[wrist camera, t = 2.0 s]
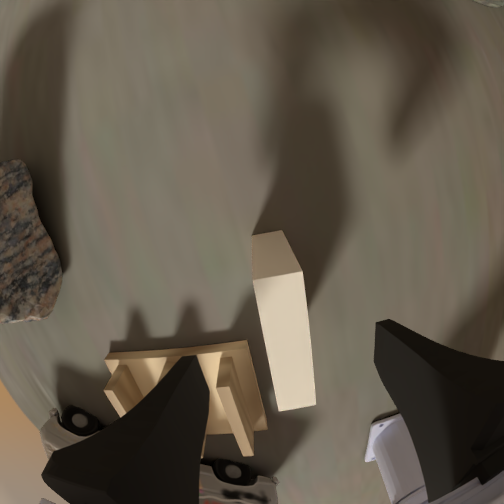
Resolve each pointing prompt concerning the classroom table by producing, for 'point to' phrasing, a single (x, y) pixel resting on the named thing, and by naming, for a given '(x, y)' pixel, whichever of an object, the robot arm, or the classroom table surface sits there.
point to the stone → (24, 251)
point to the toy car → (211, 481)
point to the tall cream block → (283, 319)
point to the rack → (216, 375)
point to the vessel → (491, 3)
